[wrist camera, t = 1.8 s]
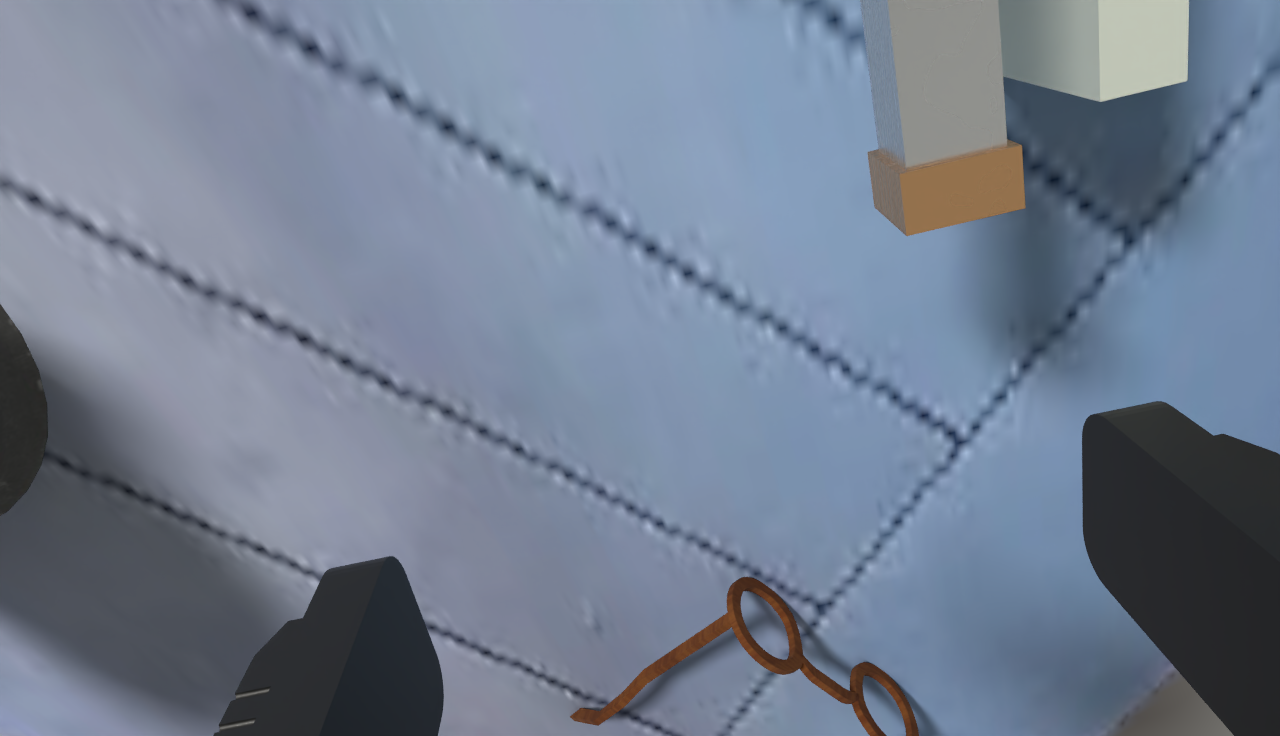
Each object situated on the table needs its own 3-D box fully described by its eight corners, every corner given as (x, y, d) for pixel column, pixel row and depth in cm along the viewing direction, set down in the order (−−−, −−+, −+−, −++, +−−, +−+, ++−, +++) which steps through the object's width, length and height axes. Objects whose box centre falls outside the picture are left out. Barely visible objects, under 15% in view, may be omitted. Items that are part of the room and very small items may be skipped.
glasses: (908, 685, 47) (940, 761, 43) (741, 817, 51) (753, 900, 46) (731, 556, 43) (745, 624, 39) (565, 709, 47) (560, 787, 43)
